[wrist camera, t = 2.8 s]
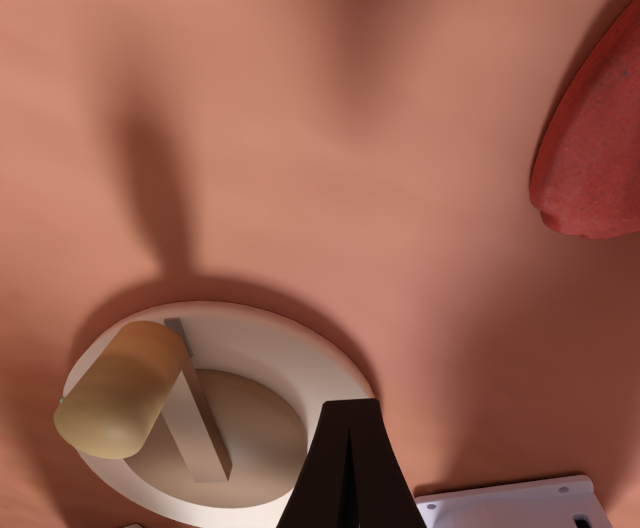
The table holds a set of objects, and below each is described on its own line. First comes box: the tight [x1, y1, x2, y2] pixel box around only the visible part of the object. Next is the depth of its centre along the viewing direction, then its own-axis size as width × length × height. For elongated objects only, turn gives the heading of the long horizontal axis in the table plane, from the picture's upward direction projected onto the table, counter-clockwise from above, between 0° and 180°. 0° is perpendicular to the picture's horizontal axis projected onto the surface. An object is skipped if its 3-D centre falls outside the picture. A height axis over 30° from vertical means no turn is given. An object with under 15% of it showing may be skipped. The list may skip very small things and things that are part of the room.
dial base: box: [60, 301, 376, 528], centre depth 20 cm, size 16×16×1 cm
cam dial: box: [53, 320, 308, 509], centre depth 16 cm, size 13×9×5 cm
